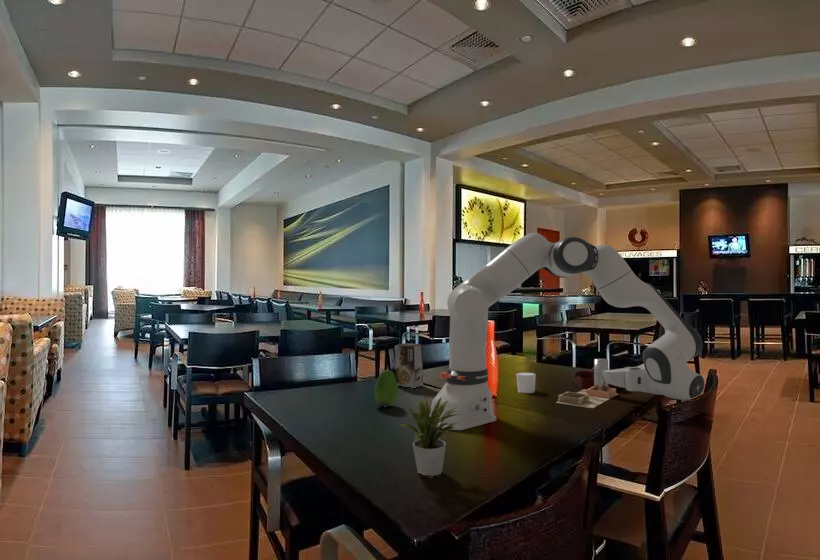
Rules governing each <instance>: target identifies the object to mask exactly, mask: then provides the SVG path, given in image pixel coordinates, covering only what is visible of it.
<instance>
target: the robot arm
mask: <svg viewBox="0 0 820 560" xmlns="http://www.w3.org/2000/svg"><path fill="white" fill-rule="evenodd" d="M540 269H543V270H545V271H546V272H548V273H549V274H551V275H552V276H555V277H557V278H562V279H564V278H568V277H574V276H576V275H578V274H583V275H585V276H587V278H589V279H590V281H592V284H593V285H594V287H595V289H596V290H597V292H598V293H599V294H600V297H601V298H602V299H603V300H604V301H605V302H606V303H607V304H608V305H610V306H613V307H615V308H619V309H620V308H622V309H623V308H624V309H625V308H632V307H642V308H645V309H646V310H647V311H648V312H650V313H651V315H652V316H653V317H654V318H655V319H656V321H657V322H658V323H659V324H660V325H661V327H663V328H664V334H663V335H661V336H660V337H659V338H657V339H656V340H653V342H652V343H650V344H649V345H648V346H647V347H646V348H645V349H644V350H643V351H642V361H643V363H642V364H640V365H638V366H625V367H623V368H615V369H608V370H607V369H606V370H603V371H602V374H603V375H604V380H605V382H606V383H608V384H612V385H615V386H618V387H620V388H623V389H625V390H626V391H627V392H643V393H647V394H649V393H650V394H653V395H654V394H655V395H663V396H665V397H667V398H670V399H675V400H679V401H688V400H687V399H690V398H693V397H696V396H699V395H700V396H701V395H702V393H703V391H704V388H705V379H704V377H703V375H701V374H699V373H697V372H695V371H694V370H692V369H691V368H690V367H689V366H688V365H687V363H688V362H689V361H691V360H692V359H694V358H695V357H697V356H699V355H700V354H701V353H702V352H703V349H704V344H703V343H704V342H703V339H702V337H701V335H700V333H699V332H698V331H697V330H696V329H695V328H694V327H693V326H691V324H689V323H688V322H686V320H685V319H684V318H683V317H682V316H681V315H680V313H678V311H677V310H676V309H675V308H674V306H672V304H671V303H670V302H669V301H668V300H667V299H666V298H665V296H664V295H663V294H662V293H661V292H660V291H659V290H658V289H657V288H656V287H655V286H654V285H653V284H651V283H648V282H644V281H643V280H641V278H639V277H638V276H637V275H636V274H635V272H634V271H633V270H632V268H631V267H630V266H629V264H628V263H627V261H626V260H625V259H624V258H623V257H622V255H621V254H620V253H619V252H618V251H617V250H616V249H615V248H614V247H613V246H612V245H610V244H599V245H598V244H597V245H596V246H595V245H593V244H591V243H590V242H588V241H586V240H584V239H583V238H581V237H578V236H568V237H565V238H563V239H561V240H559V241H557V242H551V241H548V239H547V238H546V237H545V236H544V235H542V234H541V233H537V232H529V233H528V234H526V235H524V236H522V237H520V238H519V239H517V240H516V241H514V242H513V243H511V244H510V245H508V246H507V247H506V248H504V249H503V250H502V251H501V252H500V253H499V254H497V255H495V256H494V258H493V259H491V260H490V261H489V262H488V263H486V264H485V265H484V266H482V267H481V268H480V269H478V270H477V271H476V272H474V273H472V275H470V277H468V278H467V279H465V280H464V281H462V282H461V283H460V284H459V285H457V286H456V287H455V288H454V289H452V290H451V292H450V293H449V294H448V298H447V302H446V306H447V308H448V309H447V310H448V311H449V336H448V337H449V339H448V353H449V354H448V356H449V357H448V360H449V361H448V363H449V364H448V366H449V367H448V368H447V372H445V371H441V374H440V378H441V380H445V383H444V385H443V386H442V387H441V389H440V390H439V391H438V393H437V394H436V396H435V397H434V398H433V399H432V402H431V408H430V416H431V413H432V411H433V409H434V407H435V405H436V404H437V402H438V400H439V399H440V398H441V402H440V404H439V407H440V406H441V405H442V404H443V403H444V402H446V401H448V400H449V401H448V402H447V404H446V405H445V407H444V411H445V412H444V411H443V413H442V414H441V416H440V418H441V417H442V416H443V415H444V414H445V413H446V411H449V410H451V409H453V408H456V407H460V408H456V409H454V410H452V411H457V412H453V413H451V414H450V415H453V414H460V415H455V416H452V417H449V418H446V419H445V420H444V421H443V423H442V424H444V423H449V424H452V423H456V424H453V425H454V426H455V427H454V426H453V425H452V427H454V429H449V431H450V430H452V431H463V430H467V429H470V428H475V427H478V426H482V425H485V424H488V423H492V422H496V421H497V415H495V414H494V407H493V397H492V391H491V389H490V387H489V386H488V381H489V371H488V368H487V335H488V324H489V321H488V320H489V308H490V307H491V306H492V305H494V304H495V303H497V302H498V301H500V300H501V299H504V297H506V296H508V295H510V294H511V292H513V291H515V289H517V288H518V287H519V286H520V285H522V284H523V283H524V282H525V281H526V280H527V279H529V278H530V277H532V276H533V275H534V274H535V273H536V272H538V271H539V270H540ZM700 396H699V397H700ZM461 406H464V407H461ZM438 409H439V408H438ZM452 411H451V412H452ZM449 413H450V412H449ZM447 414H448V413H447ZM447 414H446V415H447ZM446 415H445V416H446ZM441 422H442V421H441ZM441 422H440V423H439V424H438V425H437V427H436V428H438V427H439V425H440V424H441ZM448 426H449V425H445V426H443V427H442V428H441V429H443V428H445V427H448ZM455 428H456V429H455Z"/></svg>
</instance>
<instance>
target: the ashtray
mask: <svg viewBox="0 0 820 560" xmlns="http://www.w3.org/2000/svg"><path fill="white" fill-rule="evenodd" d="M572 375H573V376H572V377H573V381H574V382H575V384H576V385H577V386H578V387H579V389H581V390H584V389H585V390H587V389H589V388H591V387H593V386H594V370H586V369H585V370H579V371H574V372H573V374H572ZM608 388H615V389H616V390H621V387H618V386H615V385H612V384H608Z"/></svg>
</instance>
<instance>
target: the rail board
mask: <svg viewBox="0 0 820 560" xmlns="http://www.w3.org/2000/svg"><path fill="white" fill-rule="evenodd" d="M617 395H619V394H618V393H616V395H614V396H613V397H611V398H609V399H608V398H601V397H594V396H589V394H587V389H581V390H579V391H576V392H574V391H573V392H572V391H565V392H563V393H561V394H558V395H557V401H556V402H555V404H562V405H569V406H573V407H575V406H576V407H582V408H587V409H594V408H596V407H597V406H599V405H601V404H603V403H605V402H607V401H608V400H610V399H612V398H614V397H616V396H617Z"/></svg>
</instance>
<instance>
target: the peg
mask: <svg viewBox="0 0 820 560" xmlns="http://www.w3.org/2000/svg"><path fill="white" fill-rule="evenodd" d="M606 369H607V370H609V359H607V358H594V359H593V371H594V390H597V391H604V392H608V383H606V382H605V380H604V375H603V374H602V371H603V370H606Z"/></svg>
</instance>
